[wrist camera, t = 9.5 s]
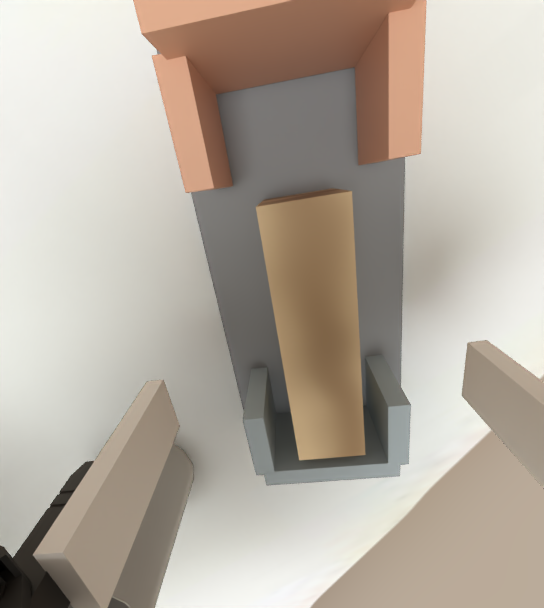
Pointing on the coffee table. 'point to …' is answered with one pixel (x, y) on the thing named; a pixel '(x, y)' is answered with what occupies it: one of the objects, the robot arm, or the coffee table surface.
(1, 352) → the coffee table surface
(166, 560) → the cup
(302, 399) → the tan wooden block
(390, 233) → the seat
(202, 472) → the coffee table surface
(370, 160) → the endcap
